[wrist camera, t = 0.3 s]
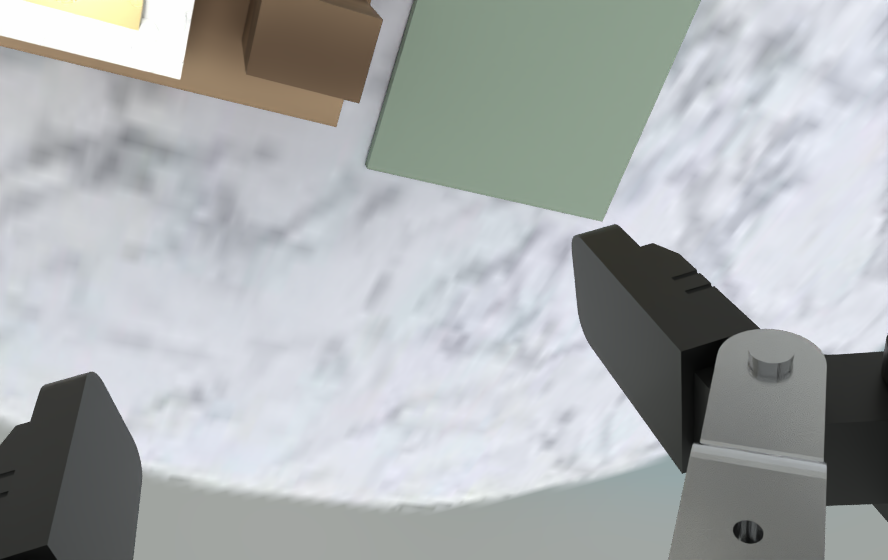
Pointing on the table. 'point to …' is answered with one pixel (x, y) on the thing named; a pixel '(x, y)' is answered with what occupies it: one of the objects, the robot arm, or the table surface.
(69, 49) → the butter dish
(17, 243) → the table surface
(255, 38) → the wooden pegged stand
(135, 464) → the robot arm
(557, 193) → the rubber mat
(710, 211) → the table surface
